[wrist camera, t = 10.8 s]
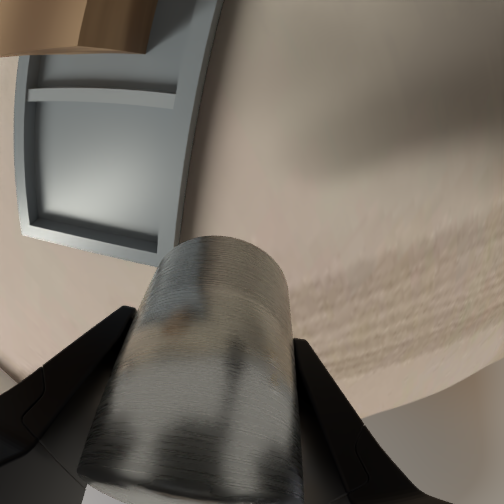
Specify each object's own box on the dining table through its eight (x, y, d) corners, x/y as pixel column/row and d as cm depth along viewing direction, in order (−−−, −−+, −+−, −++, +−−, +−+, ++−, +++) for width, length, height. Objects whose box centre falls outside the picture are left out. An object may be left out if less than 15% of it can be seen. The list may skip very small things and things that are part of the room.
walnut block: (165, -25, 11) (111, -72, 5) (145, 54, 13) (77, 46, 7) (88, -19, 10) (15, -44, 4) (71, 54, 13) (-11, 58, 7)
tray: (239, -53, 10) (236, -65, 9) (177, 254, 21) (171, 270, 19) (59, -41, 9) (44, -46, 8) (34, 223, 20) (22, 234, 18)
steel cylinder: (305, 252, 10) (346, 488, 4) (269, 350, 12) (270, 526, 6) (157, 223, 9) (43, 437, 3) (153, 328, 11) (102, 498, 5)
